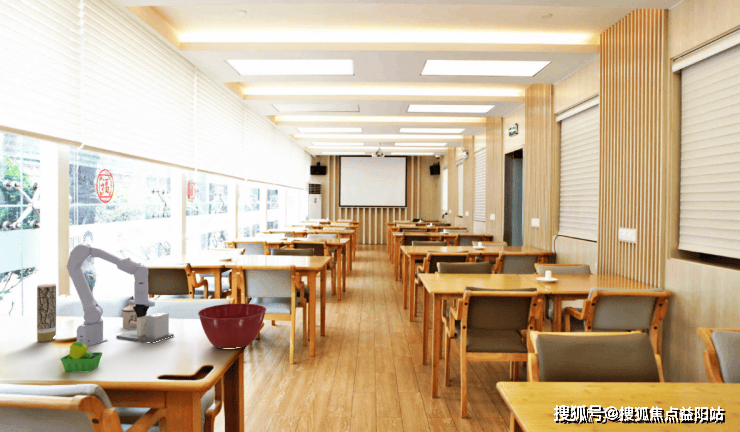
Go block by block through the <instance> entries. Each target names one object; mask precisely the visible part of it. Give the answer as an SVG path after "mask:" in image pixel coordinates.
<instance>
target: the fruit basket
mask: <svg viewBox="0 0 740 432" xmlns="http://www.w3.org/2000/svg"><path fill="white" fill-rule="evenodd" d="M102 355H103V352H99V351H97V352H92V351H89V352H88V346H86V345H84V344H82V343H81V342H80V341H77V340H76V341H74V342H72V343H71V345H70V346H69V353H68V354H67V355H65V356H62V357H61V358H60V361H61V365H62V366H63V367H62V368H63V370H64V372H68V371H70V372H72V371H77V372H78V371H84V372H85V371H90V372H91V371H93V370H95V369H96V368H98V367H99V364H100V361H101V357H102ZM94 368H95V369H94ZM68 373H69V372H68Z"/></svg>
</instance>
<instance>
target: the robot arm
mask: <svg viewBox="0 0 740 432" xmlns="http://www.w3.org/2000/svg"><path fill="white" fill-rule="evenodd" d="M68 257H69V258H68V261H67V264H66V269H67V271H68V274H69V276H70V279H71V281H72V284H73V285H74V288H75V290H76V293H77V295H78V297H79V299H80V302H81V304H82V310H83V320H84V321H83V323H82V324H81V325H78V326H77V328H76V341H80V342H81V343H82V344H84V345H86V346H87V347H90V346H93V345H97V344H100V343H103V342H107V341H108V338H104V319H103V318H102V316H103V313H104V310H103V308H102V307H101V306H100V305H99V304H98V302H97V300H96V299H95V297H94V295H93V293H92V290H91V287H90V285H89V283H88V281H87V278H86V276H85V273H84V270H83V269H82V265H83V264H84V263H85V261H86V260H87V258H88V257H90V258H93V259H94V258H100V259H101V260H104V261H107V262H109V263H112V264H114V265H116V267H117V269H118V270H120V271H122V272H124V273H127V274H129V275H133V276H134V284H133V285H134V287H133V289H134V290H133V291H134V293H133V294H134V296H133V297H134V298H133V299H129V300H128V301H127V304H128V306H129V305H130V304H133V305H136V306H134V307H133V309H134V310H135V312H136V314H137V318H139V317H143V316H145V315H146V312H147V313H148V310H149V308H153V307H155V304H156V301H152V300H150V299H149V274H150V273H149V269H148V267H147V266H146V265H144V264H142V263H141V262H136V261H134V260H131V258H130V257H122V258H121V257H118V256H116V255H114V254H112V253H111V252H108V251H106V250H104V249H102V248H99V247H97V246H95V245H91V244H89V243H86V242H85V243H80V244H78V245H77V244H76V246H74V247H73V249H72V250H71V251H70V253H69V256H68Z"/></svg>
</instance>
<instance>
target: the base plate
mask: <svg viewBox="0 0 740 432" xmlns="http://www.w3.org/2000/svg"><path fill="white" fill-rule="evenodd" d="M171 336H174V333H171V332H169V335H167V336H164V337H161V338H158V339H155V340H153V339H147V338H146V335H142V336H137V329H135V330H131V331H128V332H125V333H121V334H116V339H119V340H125V341H131V342H137V341H140V342H139V343H144V342H150V343H153V342H156V341H159V340H162V339H165V338H168V337H171ZM171 338H172V337H171ZM168 339H169V338H168ZM165 340H166V339H165ZM162 341H163V340H162ZM159 342H160V341H159ZM150 343H149V344H150ZM156 343H157V342H156ZM153 344H154V343H153Z"/></svg>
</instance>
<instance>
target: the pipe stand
mask: <svg viewBox="0 0 740 432" xmlns="http://www.w3.org/2000/svg"><path fill="white" fill-rule="evenodd" d="M148 315H149V316H146V323H145V327H146V338H147V339H153V340H155V339H158V338H161V337H164V336H167V335H169V333H170V332H169V331H170V330H169V322H170V321H169V320H170V318H169V317H170V315H169V312H157V313H152V314H148ZM129 324H130V325H133V326H137V322H133V321H131V322H130V323H129Z"/></svg>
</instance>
